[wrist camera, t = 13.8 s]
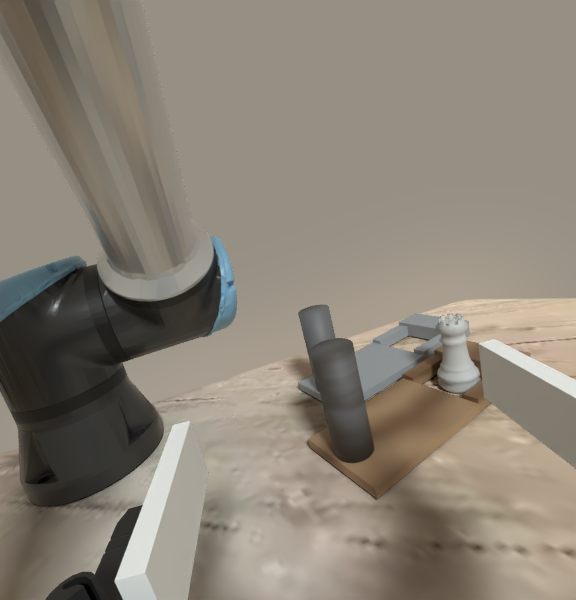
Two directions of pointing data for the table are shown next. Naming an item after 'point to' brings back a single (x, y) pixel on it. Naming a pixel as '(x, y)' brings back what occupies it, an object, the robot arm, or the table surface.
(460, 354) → the rook chess piece
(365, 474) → the brown board with post
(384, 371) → the grey board with post
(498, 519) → the table surface
